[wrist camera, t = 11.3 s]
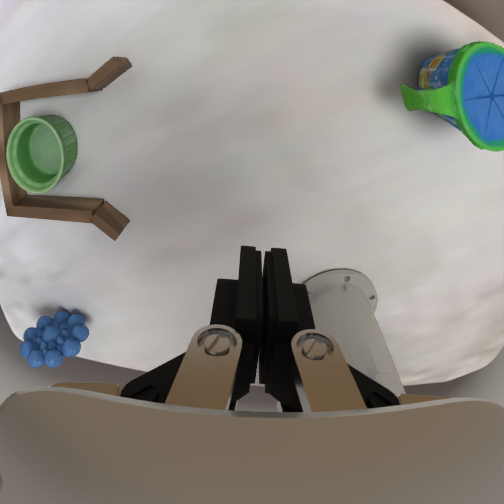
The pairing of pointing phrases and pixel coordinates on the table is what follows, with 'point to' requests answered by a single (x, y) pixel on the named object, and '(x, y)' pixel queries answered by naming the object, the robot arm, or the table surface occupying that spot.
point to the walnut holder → (57, 207)
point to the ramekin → (41, 152)
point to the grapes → (54, 339)
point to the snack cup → (464, 92)
